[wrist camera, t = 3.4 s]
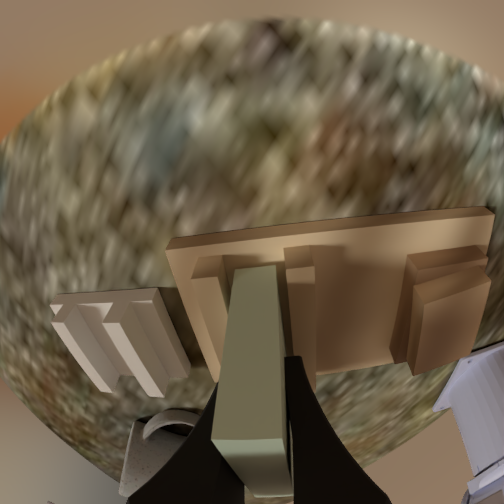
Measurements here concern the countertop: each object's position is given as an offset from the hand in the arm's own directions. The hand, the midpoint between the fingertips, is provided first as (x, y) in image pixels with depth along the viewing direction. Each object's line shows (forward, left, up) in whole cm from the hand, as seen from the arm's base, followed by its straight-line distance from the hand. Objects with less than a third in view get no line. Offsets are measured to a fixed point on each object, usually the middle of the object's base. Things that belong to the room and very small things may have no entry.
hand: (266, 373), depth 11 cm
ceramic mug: (+10, +14, -4) cm, 18 cm away
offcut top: (-8, 0, -2) cm, 9 cm away
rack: (-4, 0, -4) cm, 6 cm away
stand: (+9, +1, -4) cm, 9 cm away
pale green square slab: (0, 0, -2) cm, 2 cm away
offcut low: (-8, 0, -3) cm, 9 cm away
